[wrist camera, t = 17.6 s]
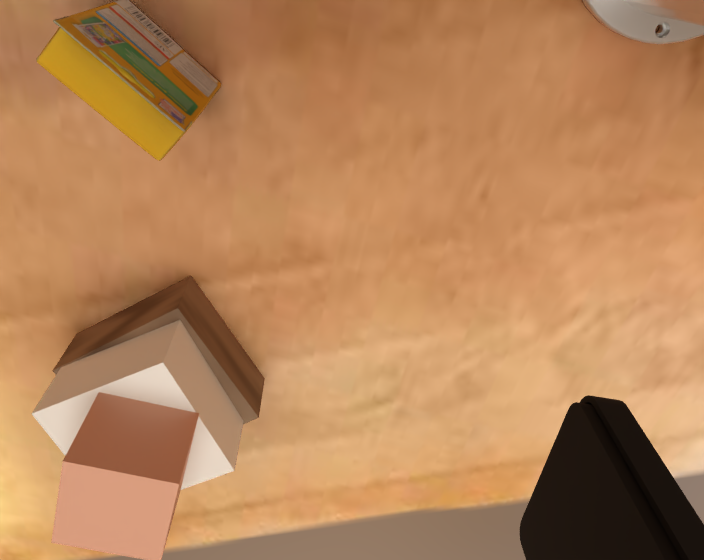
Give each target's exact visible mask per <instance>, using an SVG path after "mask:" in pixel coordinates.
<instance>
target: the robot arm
mask: <svg viewBox="0 0 704 560" xmlns="http://www.w3.org/2000/svg"><path fill="white" fill-rule="evenodd" d="M582 1H583V3H584V5H585V6H586V7H587V9H588V10H589V11H590V12H591V13H592V14H593V16H594V17H595V18H596V19H597V20H598V21H599V22H601V23H602V24H603V25H605V26H606V27H607V28H609V29H610V30H611V31H613V32H615V33H618V34H620V35H622V36H625V37H627V38H629V39H633V40H637V41H641V42H644V43H653V44H669V43H677V42H684V41H687V40H690V39H694V38H697V37H700V36H703V35H704V0H582ZM658 25H659V26H660V29H659V31H658V32H657V33H655V29H656V27H657V26H658ZM520 541H521V545H522V548H523V551H524V554H525V557H526V560H704V524H703V523H702V521H701V520H700V518H699V517H698V515H697V514H696V512H695V510H694V509H693V507H692V506H691V504H690V503H689V501H688V500H687V498H686V497H685V495H684V493H683V492H682V490H681V489H680V487H679V486H678V484H677V483H676V481H675V480H674V478H673V476H672V475H671V473H670V472H669V470H668V469H667V467H666V466H665V464H664V463H663V461H662V459H661V458H660V456H659V455H658V453H657V452H656V450H655V449H654V447H653V446H652V444H651V442H650V441H649V439H648V438H647V436H646V435H645V433H644V432H643V430H642V429H641V427H640V425H639V424H638V422H637V421H636V419H635V418H634V416H633V415H632V413H631V412H630V410H629V409H628V407H627V405H626V404H625V403H624V402H623V401H620V400H614V399H608V398H601V397H595V396H585V397H584V398H583V399H582V400H581V401H580V403H577V402H576V403H573V404H572V405H571V406H570V408H569V409H568V412H567V414H566V416H565V419H564V421H563V423H562V426H561V428H560V430H559V433H558V435H557V438H556V440H555V442H554V445H553V447H552V449H551V452H550V454H549V456H548V459H547V461H546V463H545V466H544V468H543V470H542V473H541V475H540V477H539V480H538V482H537V485H536V487H535V489H534V492H533V494H532V496H531V499H530V501H529V503H528V506H527V508H526V510H525V513H524V515H523V518H522V520H521V524H520Z"/></svg>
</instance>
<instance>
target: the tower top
mask: <svg viewBox="0 0 704 560" xmlns="http://www.w3.org/2000/svg"><path fill="white" fill-rule="evenodd" d="M99 392H102V393H106V394H111V395H116V396H120V397H125V398H130V399H134V400H139V401H144V402H149V403H153V404H158V405H163V406H167V407H172V408H177V409H181V410H186V411H191V412H195V413H199V416H198V420H197V425H196V429H195V433H194V437H193V441H192V445H191V449H190V453H189V458H188V462H187V466H186V470H185V474H184V478H183V482H182V486H181V490H182V489H185V488H187V487H190V486H193V485H196V484H199V483H201V482H204V481H207V480H210V479H213V478H215V477H218V476H221V475H224V474H227V473H229V472H232V471H235V465H236V460H237V454H238V449H239V443H240V438H241V432H242V426H243V420H242V418H241V416H240V415H239V413H238V412H237V410H236V408H235V407H234V405H233V404H232V402H231V400H230V399H229V397H228V396H227V394H226V392H225V391H224V389H223V388H222V386H221V384H220V383H219V381H218V380H217V378H216V376H215V375H214V373H213V372H212V370H211V368H210V367H209V365H208V364H207V362H206V360H205V359H204V357H203V356H202V354H201V352H200V351H199V349H198V348H197V346H196V344H195V343H194V341H193V340H192V338H191V336H190V335H189V333H188V332H187V330H186V328H185V327H184V325H183V324H182V322H181V320H178V321H175V322H173V323H170V324H168V325H165V326H163V327H160V328H158V329H155V330H153V331H150V332H148V333H145V334H143V335H140V336H138V337H135V338H133V339H130V340H128V341H125V342H123V343H120V344H118V345H115V346H113V347H110V348H108V349H105V350H103V351H100V352H98V353H95V354H93V355H90V356H88V357H85V358H83V359H80V360H78V361H75V362H73V363H70V364H68V365H65V366H63V367H61V368H60V370H59V371H58V373H57V374H56V376H55V378H54V379H53V381H52V382H51V384H50V385H49V387H48V389H47V390H46V392H45V393H44V395H43V396H42V398H41V400H40V401H39V403H38V404H37V406H36V407H35V409H34V411H33V412H32V415H33V416H34V417H35V419H36V420H37V421H38V422H39V424H40V425H41V426H42V427H43V429H44V430H45V431H46V432H47V434H48V435H49V436H50V437H51V439H52V440H53V441H54V442H55V444H56V445H57V446H58V447H59V449H60V450H61V451H62V452H63V454H64V455H65V456H66V454H67V452H68V450H69V448H70V446H71V444H72V443H73V441H74V439H75V437H76V435H77V433H78V431H79V429H80V427H81V425H82V423H83V421H84V420H85V418H86V416H87V414H88V412H89V410H90V408H91V406H92V404H93V402H94V400H95V398H96V396H97V395H98V393H99Z"/></svg>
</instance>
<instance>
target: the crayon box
mask: <svg viewBox="0 0 704 560" xmlns="http://www.w3.org/2000/svg"><path fill="white" fill-rule="evenodd" d="M53 22H54V23H55V24H57V25H58V26H59V28H58V30H57V31H56V33H55V34H54V35H53V37H52V38H51V40H50V41H49V42H48V44H47V45H46V47H45V48H44V50H43V51H42V52H41V54H40V55H39V56H38V57H37V62H38V63H39V64H40V65H41V66H42V67H43V68H45V69H46V70H47V71H48V72H49V73H51V74H52V75H53V76H54V77H56V78H57V79H58V80H59V81H60V82H62V83H63V84H64V85H65V86H67V87H68V88H69V89H70V90H71V91H73V92H74V93H75V94H76V95H77V96H79V97H80V98H81V99H82V100H84V101H85V102H86V103H87V104H88V105H90V106H91V107H92V108H93V109H94V110H95V111H97V112H98V113H99V114H101V115H102V116H103V117H104V118H105V119H107V120H108V121H109V122H111V123H112V124H113V125H114V126H115V127H116V128H118V129H119V130H120V131H121V132H123V133H124V134H125V135H126V136H128V137H129V138H130V139H131V140H133V141H134V142H135V143H136V144H137V145H139V146H140V147H141V148H143V149H144V150H145V151H146V152H148V153H149V154H150V155H151V156H153V157H154V158H155V159H157V160H159V161H161V160H162V159H163V158H164V157H165V155H166V154H167V153H168V152H169V151H170V150H171V149H172V148H173V146H174V145H175V144H176V143H177V142H178V141H179V139H180V138H181V137H182V136H183V135H184V134H185V132H186V131H187V130H188V129H189V128H190V127H191V125H192V124H193V123H194V121H195V120H196V119H197V117H198V116H199V115H200V114H201V112H202V111H203V110H204V109H205V107H206V106H207V104H208V103H209V102H210V100H211V99H212V98H213V96H214V95H215V94H216V92H217V91H218V90H219V89H220V87H221V83H220V82H219V81H218V80H217V79H216V78H214V77H213V76H212V75H211V74H210V73H209V72H208V71H207V70H205V69H204V68H203V67H202V66H201V65H200V64H199V63H198V62H197V61H195V60H194V59H193V58H192V57H191V56H190V55H189V54H188V53H186V52H185V51H184V50H183V49H182V48H181V47H180V46H179V45H178V44H177V43H176V42H175V41H174V40H172V39H171V38H170V37H169V36H168V35H167V34H166V33H165V32H164V31H163V30H161V29H160V28H159V27H158V26H157V25H156V24H155V23H153V22H152V21H151V20H150V19H149V18H148V17H147V16H146V15H145V14H143V13H142V12H141V11H140V10H139V9H138V8H137V7H136V6H135V5H134V4H133V3H131V2H130V1H129V0H118V1H115V2H112V3H109V4H106V5H103V6H100V7H97V8H94V9H90V10H87V11H84V12H81V13H77V14H74V15H71V16H67V17H63V18H60V19H56V20H53Z"/></svg>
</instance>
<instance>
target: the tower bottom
mask: <svg viewBox="0 0 704 560" xmlns="http://www.w3.org/2000/svg"><path fill="white" fill-rule="evenodd" d="M178 320H181V322H182V324H183V325H184V327H185V328H186V330H187V332H188V333H189V335H190V336H191V338H192V340H193V341H194V343H195V344H196V346H197V348H198V349H199V351H200V352H201V354H202V356H203V357H204V359H205V360H206V362H207V364H208V365H209V367H210V368H211V370H212V372H213V373H214V375H215V376H216V378H217V380H218V381H219V383H220V384H221V386H222V388H223V389H224V391H225V392H226V394H227V396H228V397H229V399H230V400H231V402H232V404H233V405H234V407H235V408H236V410H237V412H238V413H239V415H240V416H241V418H242V420H243V424H245V423H248V422H250V421H252V420H254V419H256V418H259V412H260V405H261V399H262V392H263V385H264V377H263V376H262V374H261V373H260V372H259V370H258V369H257V367H256V366H255V365H254V363H253V362H252V360H251V359H250V357H249V356H248V355H247V353H246V352H245V350H244V349H243V348H242V346H241V345H240V343H239V342H238V341H237V339H236V338H235V336H234V335H233V334H232V332H231V331H230V329H229V328H228V327H227V325H226V324H225V322H224V321H223V320H222V318H221V317H220V315H219V314H218V313H217V311H216V310H215V308H214V307H213V306H212V304H211V303H210V301H209V300H208V299H207V297H206V296H205V294H204V293H203V291H202V290H201V289H200V287H199V286H198V284H197V283H196V282H195V280H194V279H193V277H192V276H189V277H187V278H185V279H184V280H182V281H180V282H178V283H176V284H174V285H172V286H170V287H168V288H166V289H164V290H162V291H160V292H158V293H156V294H154V295H152V296H150V297H148V298H146V299H144V300H142V301H140V302H138V303H136V304H135V305H133V306H131V307H129V308H127V309H125V310H123V311H121V312H119V313H117V314H115V315H113V316H111V317H109V318H107V319H105V320H103V321H101V322H99V323H97V324H95V325H93V326H91V327H89V328H88V329H86V330H84V331H82V332H80V333H78V334H76V336H75V337H74V339H73V340H72V342H71V343H70V345H69V346H68V348H67V349H66V351H65V353H64V354H63V356H62V357H61V359H60V360H59V362H58V363H57V365H56V366H55V368H54V369H53V372H54V373H55V374H57V373H58V371H59V370H60V368H61V367H63V366H65V365H68V364H70V363H73V362H75V361H78V360H80V359H83V358H85V357H88V356H90V355H93V354H95V353H98V352H100V351H103V350H105V349H108V348H110V347H113V346H115V345H118V344H120V343H123V342H125V341H128V340H130V339H133V338H135V337H138V336H140V335H143V334H145V333H148V332H150V331H153V330H155V329H158V328H160V327H163V326H165V325H168V324H170V323H173V322H175V321H178Z"/></svg>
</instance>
